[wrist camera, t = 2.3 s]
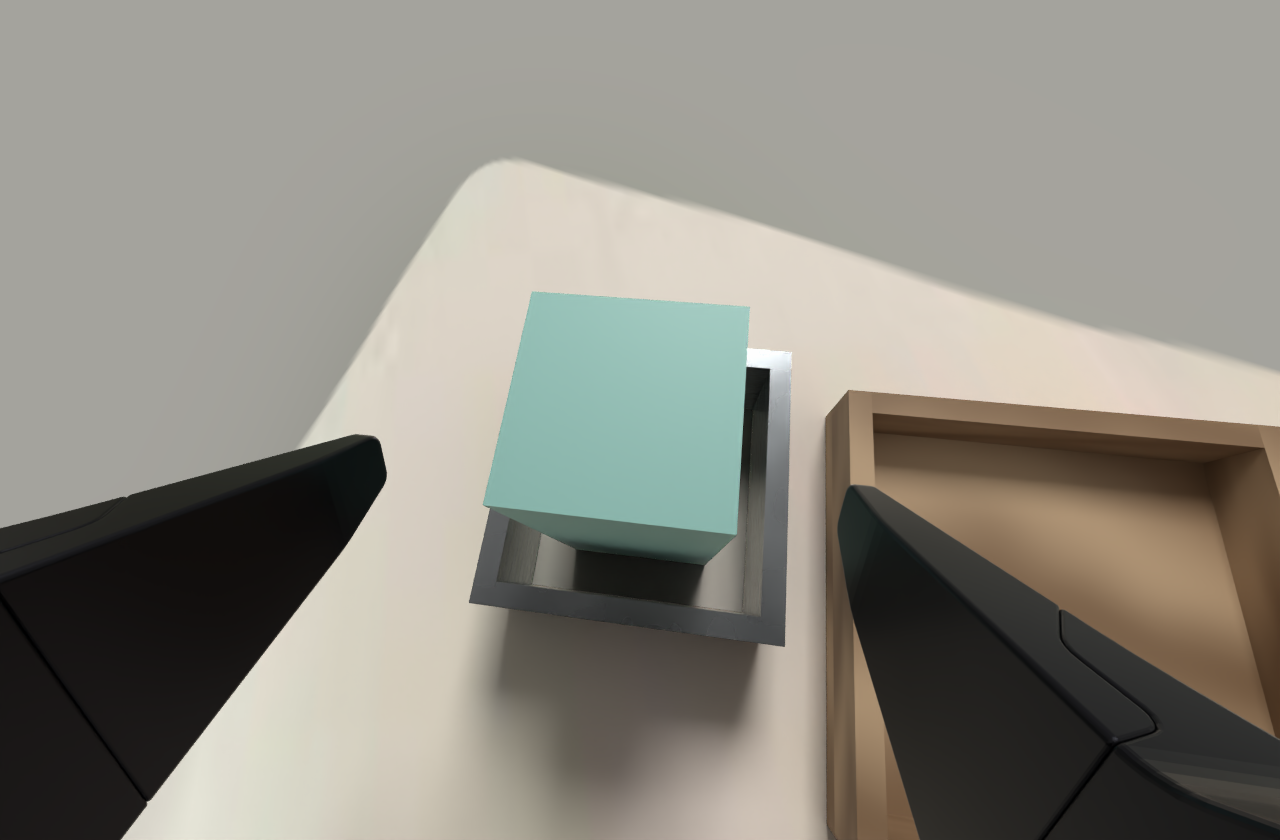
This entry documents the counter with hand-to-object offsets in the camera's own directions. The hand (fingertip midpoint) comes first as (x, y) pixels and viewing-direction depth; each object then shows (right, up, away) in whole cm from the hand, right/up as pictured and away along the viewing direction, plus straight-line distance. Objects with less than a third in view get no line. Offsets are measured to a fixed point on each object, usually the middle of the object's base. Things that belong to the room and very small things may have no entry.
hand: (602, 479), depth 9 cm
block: (+1, -2, +10) cm, 11 cm away
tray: (+14, -6, +8) cm, 18 cm away
